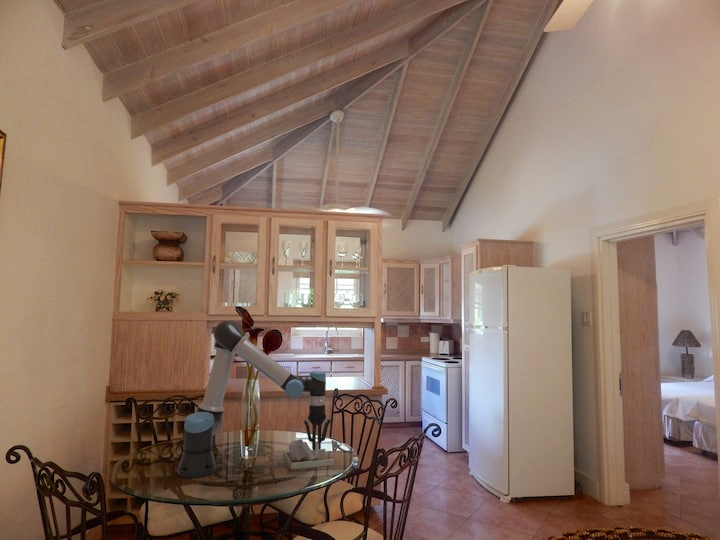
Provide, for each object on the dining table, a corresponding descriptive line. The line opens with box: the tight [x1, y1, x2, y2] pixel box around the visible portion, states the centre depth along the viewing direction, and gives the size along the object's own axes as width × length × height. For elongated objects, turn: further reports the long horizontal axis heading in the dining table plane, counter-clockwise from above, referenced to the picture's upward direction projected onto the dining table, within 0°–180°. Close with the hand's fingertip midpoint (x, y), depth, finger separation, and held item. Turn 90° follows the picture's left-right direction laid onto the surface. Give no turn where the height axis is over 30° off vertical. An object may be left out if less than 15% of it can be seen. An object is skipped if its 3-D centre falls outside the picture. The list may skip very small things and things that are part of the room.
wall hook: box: [287, 438, 316, 462], centre depth 202 cm, size 8×10×10 cm
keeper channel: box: [283, 448, 335, 470], centre depth 201 cm, size 20×18×3 cm
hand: (316, 456), depth 203 cm, fingers closed
